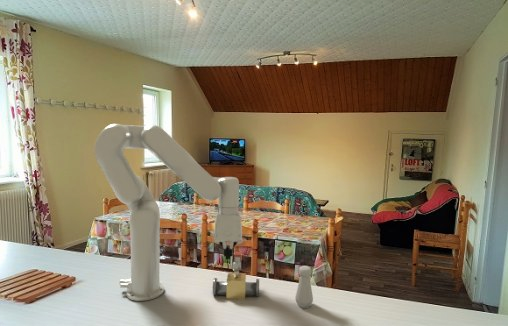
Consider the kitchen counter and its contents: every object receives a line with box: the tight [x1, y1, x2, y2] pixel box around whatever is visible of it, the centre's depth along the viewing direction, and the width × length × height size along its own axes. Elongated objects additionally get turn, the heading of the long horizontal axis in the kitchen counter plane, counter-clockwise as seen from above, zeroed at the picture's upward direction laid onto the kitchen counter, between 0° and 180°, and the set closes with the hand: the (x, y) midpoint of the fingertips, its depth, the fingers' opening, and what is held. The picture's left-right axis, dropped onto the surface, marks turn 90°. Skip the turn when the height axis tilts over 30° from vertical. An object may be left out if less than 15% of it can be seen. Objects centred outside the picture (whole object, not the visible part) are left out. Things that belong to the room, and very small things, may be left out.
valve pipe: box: [212, 270, 260, 300], centre depth 112 cm, size 16×6×9 cm, turn 90°
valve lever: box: [232, 250, 243, 272], centre depth 116 cm, size 12×3×3 cm, turn 0°
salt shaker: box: [295, 265, 314, 309], centre depth 106 cm, size 6×6×13 cm
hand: (228, 258), depth 120 cm, fingers closed
